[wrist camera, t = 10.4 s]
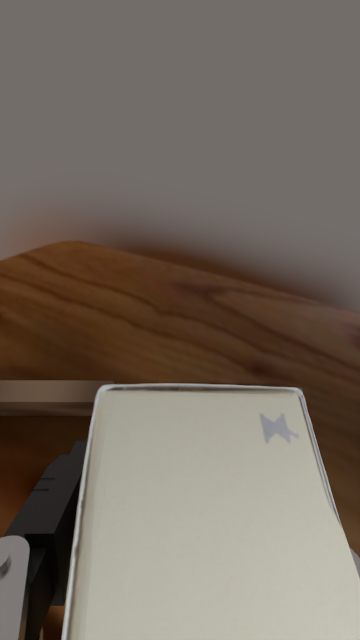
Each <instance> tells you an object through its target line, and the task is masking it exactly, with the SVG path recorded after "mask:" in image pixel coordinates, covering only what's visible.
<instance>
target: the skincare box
mask: <svg viewBox="0 0 360 640" xmlns="http://www.w3.org/2000/svg"><path fill="white" fill-rule="evenodd" d="M61 640H360V578H359V575H358V572H357V569H356V566H355V563H354V560H353V557H352V554H351V551H350V548H349V545H348V542H347V539H346V536H345V534H344V531H343V528H342V525H341V522H340V519H339V516H338V513H337V509H336V506H335V503H334V499H333V496H332V492H331V489H330V485H329V482H328V478H327V475H326V471H325V468H324V465H323V462H322V458H321V455H320V451H319V448H318V445H317V441H316V438H315V434H314V430H313V427H312V423H311V420H310V417H309V414H308V410H307V406H306V401H305V398H304V395H303V393H302V391H301V390H299V389H298V388H295V387H269V386H244V385H222V384H184V383H143V384H108V385H102V386H101V387H100V388H99V389H98V391H97V393H96V396H95V400H94V406H93V413H92V418H91V423H90V428H89V435H88V441H87V446H86V452H85V458H84V465H83V472H82V477H81V483H80V491H79V498H78V505H77V512H76V521H75V529H74V536H73V544H72V552H71V559H70V568H69V577H68V585H67V592H66V601H65V611H64V620H63V629H62V638H61Z"/></svg>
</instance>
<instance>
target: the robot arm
mask: <svg viewBox="0 0 360 640" xmlns="http://www.w3.org/2000/svg"><path fill="white" fill-rule="evenodd" d="M87 441H88V439H78V440H77V441H76V443H75V444H74V446H73V448H72V450H71V451H70V453H69V455H60V456H59V457H58V458H57V459H55V460H54V461H53V462H52V463H51V464H50V465H48V467H47V468H46V470H45V472H44V473H43V475H42V476H41V478H40V481H38V483H37V484H36V486H35V487H34V489H33V492H31V494H30V495H29V497H28V498H27V500H26V502H25V503H24V505H23V506H22V508H21V509H20V511H19V513H18V514H17V516H16V517H15V519H14V521H13V522H12V524H11V525H10V527H9V528H8V530H7V532H6V533H5V535H4V536H3V537H2V538H0V640H43V627H42V626H43V623H44V621H45V618H46V615H47V613H48V610H49V607H50V606H64V604H65V601H66V592H67V585H68V577H69V568H70V559H71V552H72V544H73V536H74V529H75V521H76V512H77V505H78V498H79V491H80V483H81V477H82V472H83V465H84V458H85V452H86V446H87ZM349 548H350V547H349ZM350 551H351V554H352V557H353V560H354V563H355V566H356V569H357V572H358V575H359V578H360V558H359V557H358V556H357V554H356V553H355V552H354V551H353V550H352V549H351V548H350Z"/></svg>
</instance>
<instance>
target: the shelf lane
mask: <svg viewBox="0 0 360 640" xmlns="http://www.w3.org/2000/svg"><path fill="white" fill-rule="evenodd" d="M108 384H116V383H115V382H114V381H98V380H0V416H92V413H93V406H94V400H95V396H96V393H97V391H98V389H99V388H100V387H101V386H102V385H108Z"/></svg>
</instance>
